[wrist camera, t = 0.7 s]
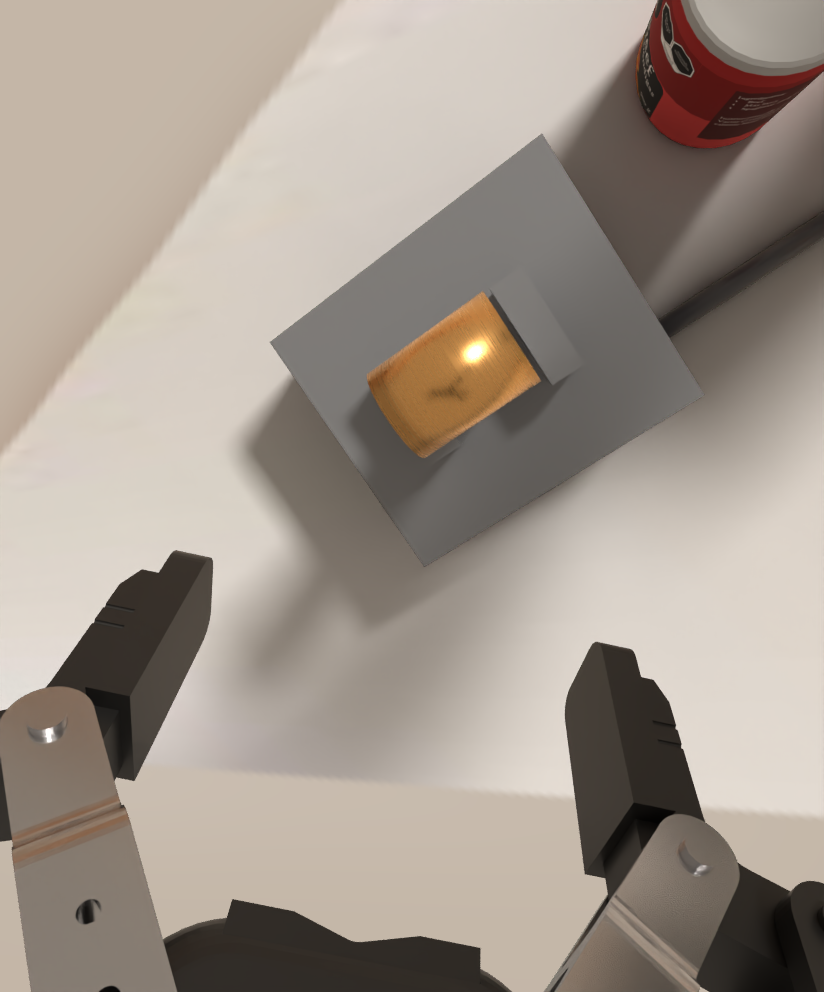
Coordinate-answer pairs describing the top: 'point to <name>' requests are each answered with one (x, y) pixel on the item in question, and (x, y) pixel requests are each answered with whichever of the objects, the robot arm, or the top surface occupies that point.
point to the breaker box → (537, 330)
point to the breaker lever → (451, 377)
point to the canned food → (726, 65)
